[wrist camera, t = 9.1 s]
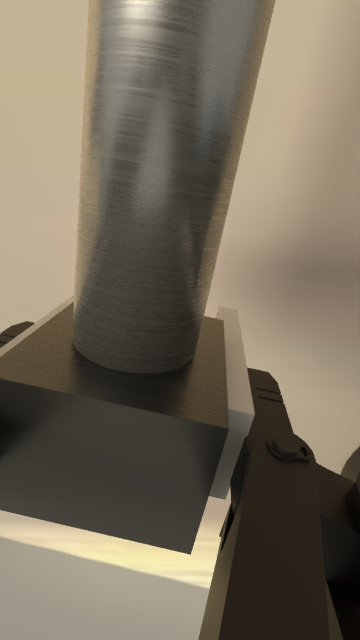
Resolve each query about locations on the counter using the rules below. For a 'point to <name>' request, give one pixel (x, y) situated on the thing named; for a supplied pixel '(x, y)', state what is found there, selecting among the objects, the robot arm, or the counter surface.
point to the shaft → (139, 281)
